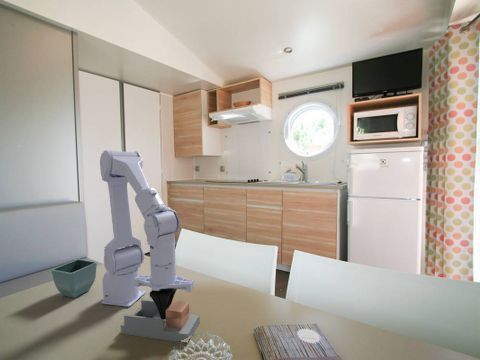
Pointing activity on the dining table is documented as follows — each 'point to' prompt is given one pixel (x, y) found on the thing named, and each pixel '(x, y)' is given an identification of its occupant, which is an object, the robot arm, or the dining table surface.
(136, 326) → the slate trough
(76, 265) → the flower pot
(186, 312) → the terracotta block
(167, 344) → the dining table surface
